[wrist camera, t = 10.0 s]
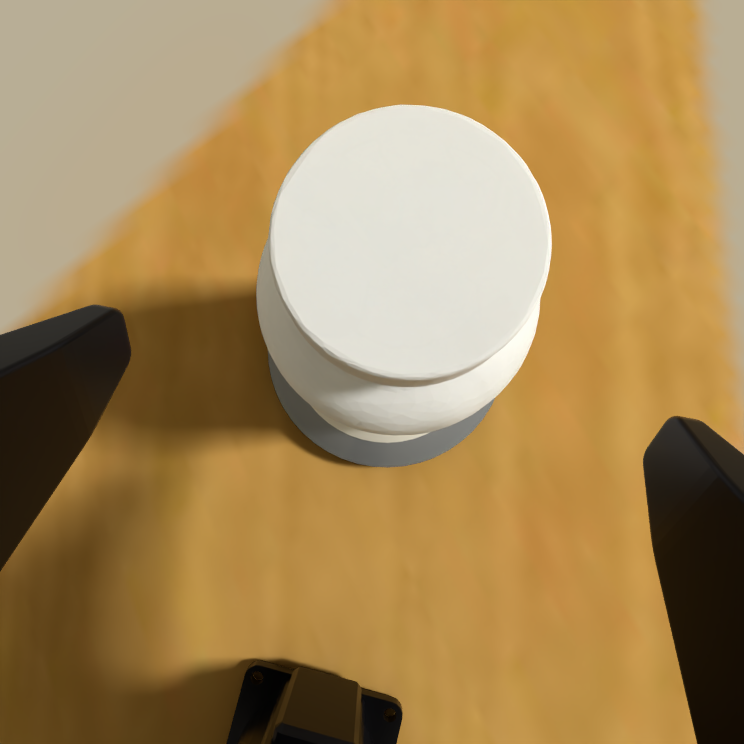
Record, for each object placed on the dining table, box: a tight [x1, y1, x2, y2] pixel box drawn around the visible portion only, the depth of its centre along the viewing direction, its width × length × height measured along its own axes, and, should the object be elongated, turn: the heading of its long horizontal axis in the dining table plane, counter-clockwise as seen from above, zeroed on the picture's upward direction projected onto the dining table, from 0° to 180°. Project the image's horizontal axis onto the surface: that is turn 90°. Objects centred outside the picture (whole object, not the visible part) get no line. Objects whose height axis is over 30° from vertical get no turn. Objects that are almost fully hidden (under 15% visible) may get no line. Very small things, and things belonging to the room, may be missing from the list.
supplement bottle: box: [256, 105, 552, 435], centre depth 14 cm, size 7×7×13 cm
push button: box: [268, 351, 495, 467], centre depth 21 cm, size 10×10×1 cm
